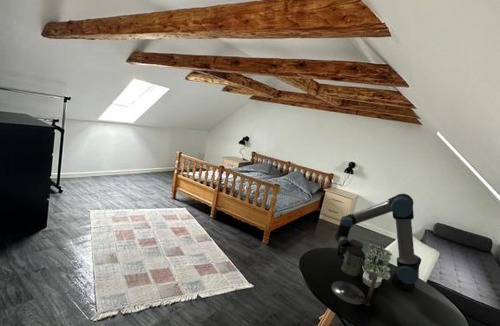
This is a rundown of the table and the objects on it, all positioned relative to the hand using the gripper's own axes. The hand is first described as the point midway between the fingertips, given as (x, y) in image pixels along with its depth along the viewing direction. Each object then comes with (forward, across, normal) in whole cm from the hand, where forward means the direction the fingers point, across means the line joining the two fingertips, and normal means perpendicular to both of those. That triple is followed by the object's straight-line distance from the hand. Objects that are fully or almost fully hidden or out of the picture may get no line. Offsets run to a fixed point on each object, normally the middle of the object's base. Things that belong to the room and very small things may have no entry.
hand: (355, 263), depth 167 cm
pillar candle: (-44, -16, -20) cm, 51 cm away
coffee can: (-4, 0, -8) cm, 9 cm away
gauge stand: (+7, -10, -20) cm, 23 cm away
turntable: (+1, -1, -20) cm, 20 cm away
